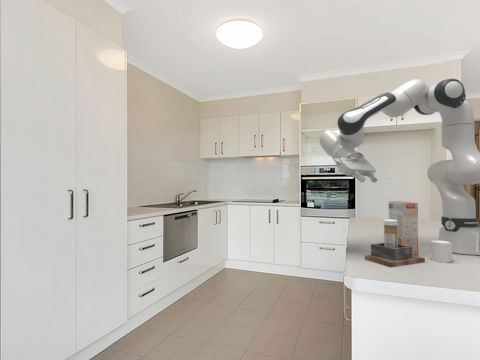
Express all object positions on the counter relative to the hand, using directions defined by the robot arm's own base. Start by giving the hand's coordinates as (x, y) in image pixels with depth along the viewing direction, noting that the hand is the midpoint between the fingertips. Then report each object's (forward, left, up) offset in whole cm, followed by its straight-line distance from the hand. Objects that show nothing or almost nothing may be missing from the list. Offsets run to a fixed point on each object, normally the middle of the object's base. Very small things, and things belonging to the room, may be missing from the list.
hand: (369, 181), depth 108 cm
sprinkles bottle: (-2, +7, -28) cm, 29 cm away
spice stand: (-3, +8, -29) cm, 31 cm away
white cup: (-19, +14, -30) cm, 38 cm away
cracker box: (-19, -1, -30) cm, 35 cm away
